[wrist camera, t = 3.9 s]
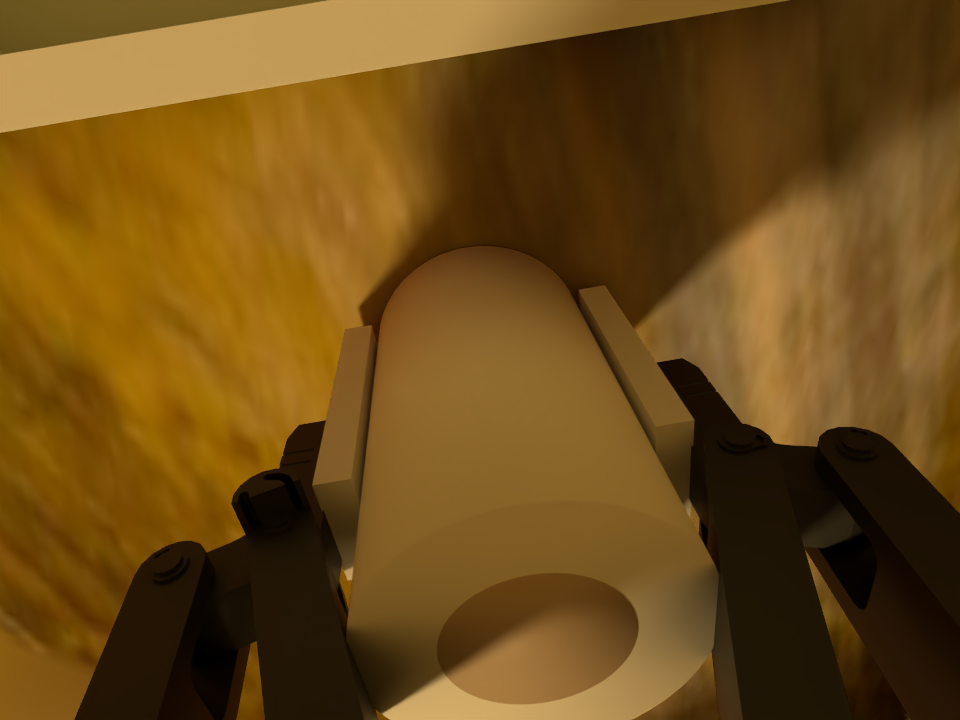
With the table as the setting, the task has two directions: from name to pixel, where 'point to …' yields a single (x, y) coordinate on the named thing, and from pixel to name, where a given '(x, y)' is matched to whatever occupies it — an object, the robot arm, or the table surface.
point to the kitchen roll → (515, 513)
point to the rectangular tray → (263, 44)
